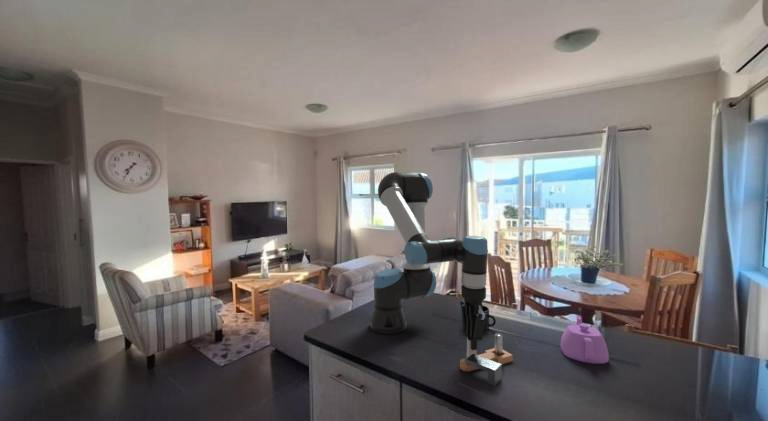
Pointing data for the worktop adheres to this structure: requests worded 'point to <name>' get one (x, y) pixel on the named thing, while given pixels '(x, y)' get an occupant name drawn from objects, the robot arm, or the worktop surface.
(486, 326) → the mug
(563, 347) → the teapot
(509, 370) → the worktop surface
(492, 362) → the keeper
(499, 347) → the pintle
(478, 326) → the robot arm
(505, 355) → the link
